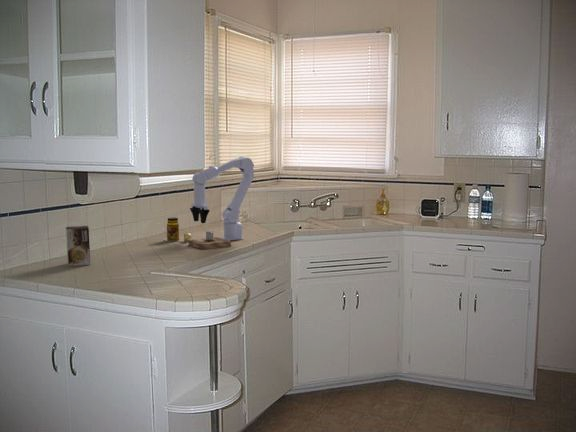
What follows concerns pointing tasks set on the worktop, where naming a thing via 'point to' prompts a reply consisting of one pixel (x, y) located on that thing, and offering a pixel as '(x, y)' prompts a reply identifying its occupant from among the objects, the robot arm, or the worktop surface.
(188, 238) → the short stub
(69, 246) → the coffee box
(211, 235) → the grey cylinder
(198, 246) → the hole block
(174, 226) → the condiment
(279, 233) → the worktop surface
